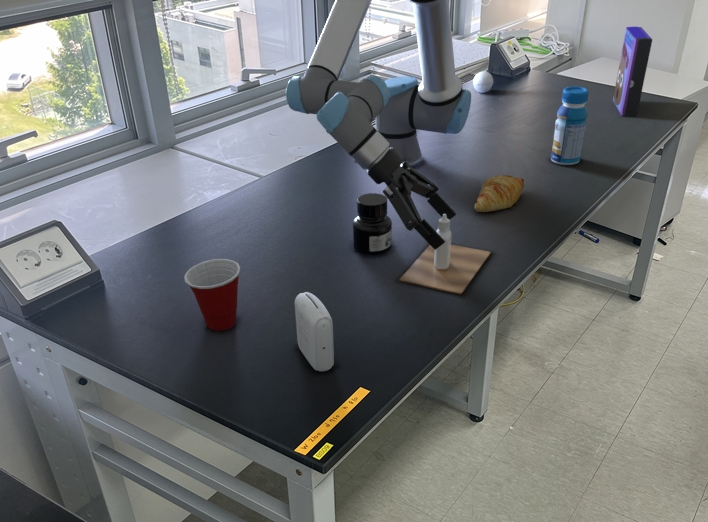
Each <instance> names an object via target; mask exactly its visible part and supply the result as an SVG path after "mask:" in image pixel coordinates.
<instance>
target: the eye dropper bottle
mask: <svg viewBox="0 0 708 522" xmlns="http://www.w3.org/2000/svg"><path fill="white" fill-rule="evenodd" d="M437 223H438V225H437V229H436V230H435V231H436V232H437V233H438V234H439V235H440V236H441V237H442V238H443V240H444V241H445V243H444V244H442V245H441V246H440V247H438V248H437V249H436V250H435V255H434V265H435V267H436V269H440V270H446V269H447V268H448V267H449V265H450V251H451V244H452V231H451V228H450V227H451V226H450V225H451V219H450V220H449V219H447V216H446V214H443V216H442V217H441V218H439V219H438V222H437Z"/></svg>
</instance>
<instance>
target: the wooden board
mask: <svg viewBox="0 0 708 522" xmlns="http://www.w3.org/2000/svg"><path fill="white" fill-rule="evenodd" d="M491 254H492V251H487V250H484V249H478V248H472V247H467V246H461V245H457V244H452V243H451V251H450V265H449V267H448V268H447V269H446V270H440V269H436V267H435V265H434V255H435V250H434V249H433V248H432V246H431V245H430V244H429V245H428V247H426V248H425V249H424V251H423V252H422V253H421V254H420V255H419V257H417V259H416V260H415V261H414V262H413V264H411V266H410V267H409V268H408V269H407V270H406V272H404V273H403V275H402V276H401V277H400V278H399V279H398V280H399V282H402V283H406V284H410V285H415V286H419V287H424V288H428V289H432V290H437V291H442V292H447V293H451V294H456V295H460V296H461V295H463V293H464V292H465V290H466V288H467V287H468V286H469V285H470V283H471V282H472V281H473V280H474V278H475V276H476V275H477V274H478V272H479V270H481V268H482V267H483V265H484V264H485V262H486V261H487V260H488V258H489V257H490V255H491Z"/></svg>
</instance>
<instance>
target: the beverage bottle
mask: <svg viewBox="0 0 708 522" xmlns="http://www.w3.org/2000/svg"><path fill="white" fill-rule="evenodd" d="M589 93H590V92H589V89H588V88H586V87H583V86H567V87H564V88H563V91H562V96H561V102H562V104H561V105H560V107H559V108H558V110H557V113H556V117H557V119H556V120H555V122H554V134H553V142H552V149H551V153H550V160H551V162H553V163H554V164H556V165H561V166H573V165H576V164H578V163H580V162H581V156H582V155H581V154H582V151H583V150H582V149H583V145H584V139H585V138H584V137H585V133H586V128H587V118H588V115H589V114H588V109H587V107H586V105H585V104H587V102H588V99H589Z"/></svg>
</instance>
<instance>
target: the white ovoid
mask: <svg viewBox="0 0 708 522" xmlns="http://www.w3.org/2000/svg"><path fill="white" fill-rule="evenodd" d="M472 86H473V88H474V90H475V91H476V92H478V93H480V94H485V93H487V92H489V91H490V90H491V89H492V87H493V86H494V78H493V75H492V74H491V73H490V72H489V71H485V70H482V71H480V72H477V73H476V74H475V76H474V77H473V79H472Z"/></svg>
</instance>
